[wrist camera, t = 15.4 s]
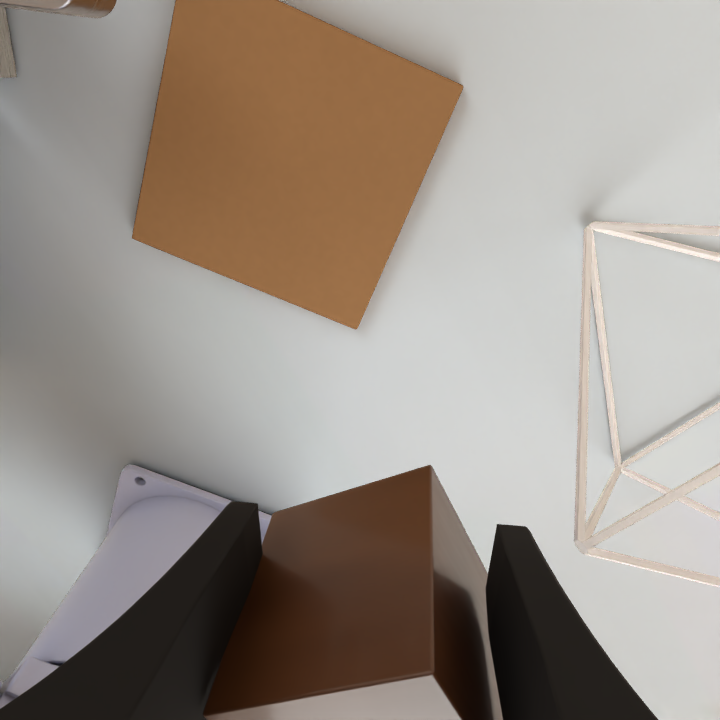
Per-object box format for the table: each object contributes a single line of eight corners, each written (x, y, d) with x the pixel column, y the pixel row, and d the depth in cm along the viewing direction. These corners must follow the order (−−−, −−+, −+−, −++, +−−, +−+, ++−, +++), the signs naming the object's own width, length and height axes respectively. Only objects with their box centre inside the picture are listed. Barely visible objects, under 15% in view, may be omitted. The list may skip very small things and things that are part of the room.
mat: (463, 85, 17) (464, 86, 16) (357, 325, 21) (356, 330, 21) (189, -41, 16) (182, -44, 16) (137, 235, 20) (130, 238, 20)
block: (495, 586, 14) (526, 816, 10) (348, 619, 15) (316, 835, 11) (430, 463, 13) (433, 673, 8) (271, 512, 14) (200, 715, 9)
